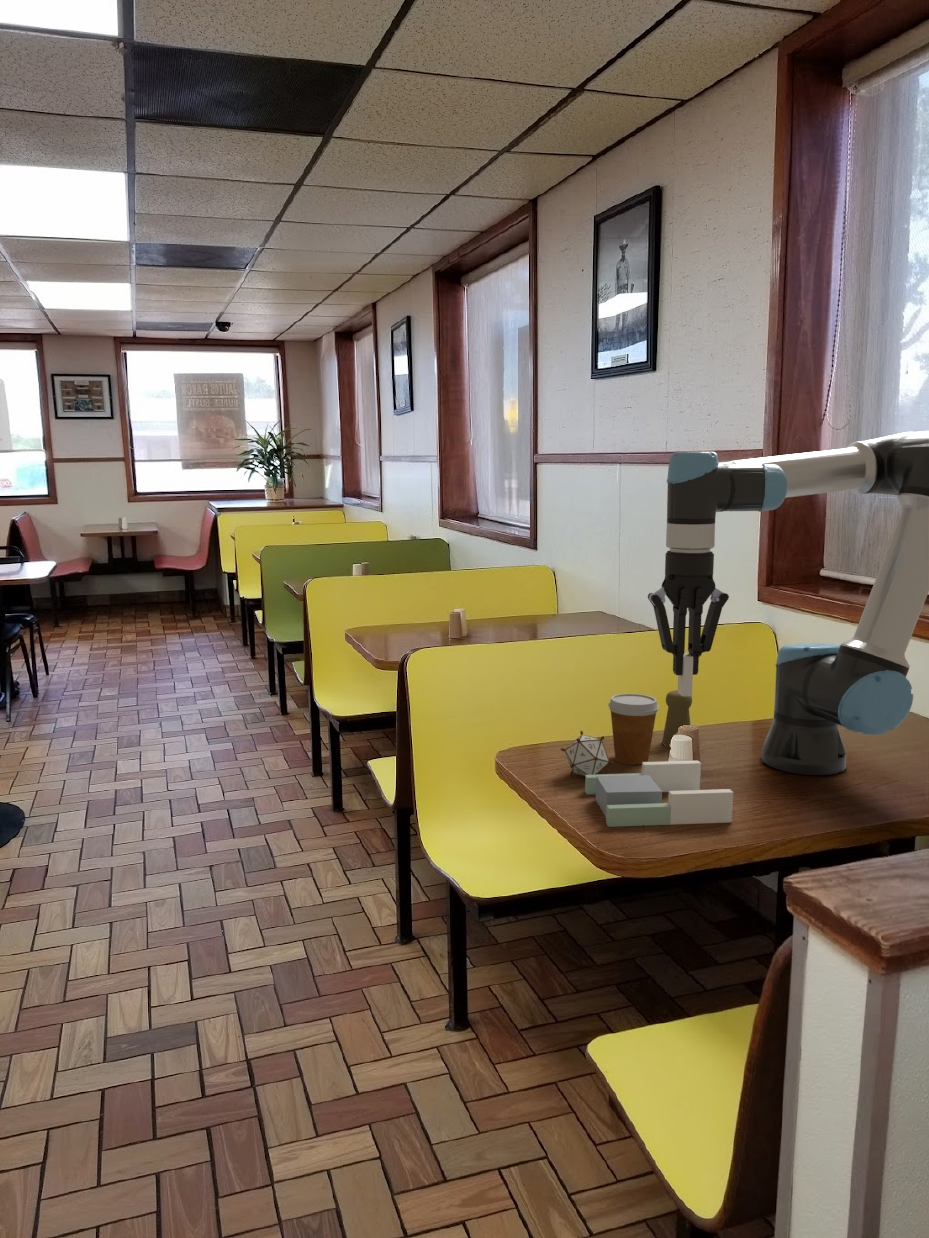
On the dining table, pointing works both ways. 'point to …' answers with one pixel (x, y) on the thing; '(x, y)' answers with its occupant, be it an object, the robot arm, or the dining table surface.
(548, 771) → the dining table surface
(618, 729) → the disposable coffee cup
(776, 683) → the robot arm
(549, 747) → the dining table surface
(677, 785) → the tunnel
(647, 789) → the slate block
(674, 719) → the pepper mill
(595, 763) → the game die
